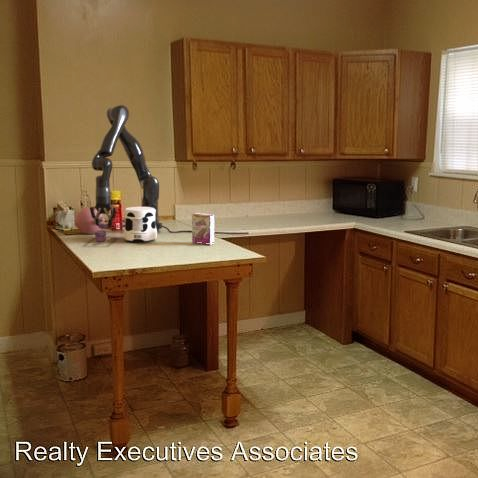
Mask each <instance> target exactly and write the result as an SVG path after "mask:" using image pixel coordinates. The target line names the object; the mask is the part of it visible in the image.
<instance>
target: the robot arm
mask: <svg viewBox="0 0 478 478" xmlns="http://www.w3.org/2000/svg"><path fill="white" fill-rule="evenodd" d="M129 118H130V111H129V109H128V107H127V106H126V105H124V104H117V105H114V106H111V107H109V108H107V110H106V119H107V120H108V122H109V124H110V125H111V127H110V128H109V130H108V131H107V132H106V133H105V135H104V136H103V139H102V141H101V144H100V146H99V149H98V151H97V152H96V153H95V155H94V156H93V158H92V160H91V167H92V169H93V170H94V171H95V172H96V171H97V172H102V174H100V175H99V174H98V175H96V176H95V192H94V193H95V206H89V207H90V211H91V216H92V218H95V222H96V225H97V226H98V223H99V219H98V218H99V216H100V214H102V215H106V217H107V218H108V220H107V221H108V222H107V223H108V226H109V227H111V226H112V225H113V219H115V218H116V215H117V210H118V209H117V207H116V206H115V207H114V206H112V205H111V187H110V186H111V185H110V180H111V179H110V178H111V174H112V171H113V165H114V164H113V160H111V159H110V157H112V156H113V154H114V152H115V149H116V146H117V145H116V144H117V142H118V140H119V142H120V144H121V146H122V148H123V150H124V152H125V155H126V157H127V159H128V161H129V163H130V164H131V166H132V168H133V170H134V172H135V176H136V177H137V181H138V184H139V186H140V188H141V189H142V198H141V207H152V208H154V209H155V225H156V229H157V234H159V232H160V230H161V229H162V228H163V229H166V230H167V232H168V233H171V234H178V233H192V230H178V231H172V230H170V229H169V227H167V226H165V225H163V223H162V222H160V215H159V200H160V182H159V180H158V178H156V177H155V176H153V175H152V173H151V172H150V170H149V168H148V166H147V162H146V157H145V153H144V150H143V148H142V146H141V144H140V142H139V140H138V139H137V137H135V136H134V135H133V133H131V132H130V131H129V130H128V129H127V128H126V124H127V121H128V119H129ZM95 209H96V210H97V211H98V212H97V214H96V216H95V213H94V210H95ZM111 211H112V214H111ZM214 234H220V235H221V234H224V235H249V232H248V231H247V232H244V231H243V232H233V231H232V232H228V231H227V232H225V231H214Z"/></svg>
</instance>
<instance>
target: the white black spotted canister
mask: <svg viewBox="0 0 478 478" xmlns="http://www.w3.org/2000/svg"><path fill="white" fill-rule="evenodd" d="M124 222H125V223H124V228H123V238H124V239H125V241H127V242H129V243H135V244H141V243H142V244H145V243H150V242H154V241H155V240H156V239H157V236H158V233H157V229H156V225H155V209H154V208H152V207H142V206H130V207H125V210H124Z"/></svg>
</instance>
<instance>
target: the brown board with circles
mask: <svg viewBox="0 0 478 478" xmlns="http://www.w3.org/2000/svg"><path fill="white" fill-rule="evenodd" d="M111 239H112V237H106V241H104V242H97V241H95V240H94V241H93V242H92V243H90V246H93V247H95V246H103V245H104V243H108V241H109V240H111Z"/></svg>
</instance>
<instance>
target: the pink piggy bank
mask: <svg viewBox="0 0 478 478" xmlns="http://www.w3.org/2000/svg"><path fill="white" fill-rule="evenodd" d="M90 207H91V206H89V207H88V206H87V207H83V208H81V209H80V210H79V211H78V212H77V213H76V215H75V217H74V224H75V226H76V229H77V230H78V231H79V232H80V233H82V234H85V235H95V232H96V231H102V229H101V228H99V227H98V226H97V225H96V222H95V218H92V216H91V211H90ZM97 212H98V211H97V210H96V209H95V210H94V213H95V216H96V214H97ZM98 219H99V223H105V216H104V214H100V216H99V218H98Z"/></svg>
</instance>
